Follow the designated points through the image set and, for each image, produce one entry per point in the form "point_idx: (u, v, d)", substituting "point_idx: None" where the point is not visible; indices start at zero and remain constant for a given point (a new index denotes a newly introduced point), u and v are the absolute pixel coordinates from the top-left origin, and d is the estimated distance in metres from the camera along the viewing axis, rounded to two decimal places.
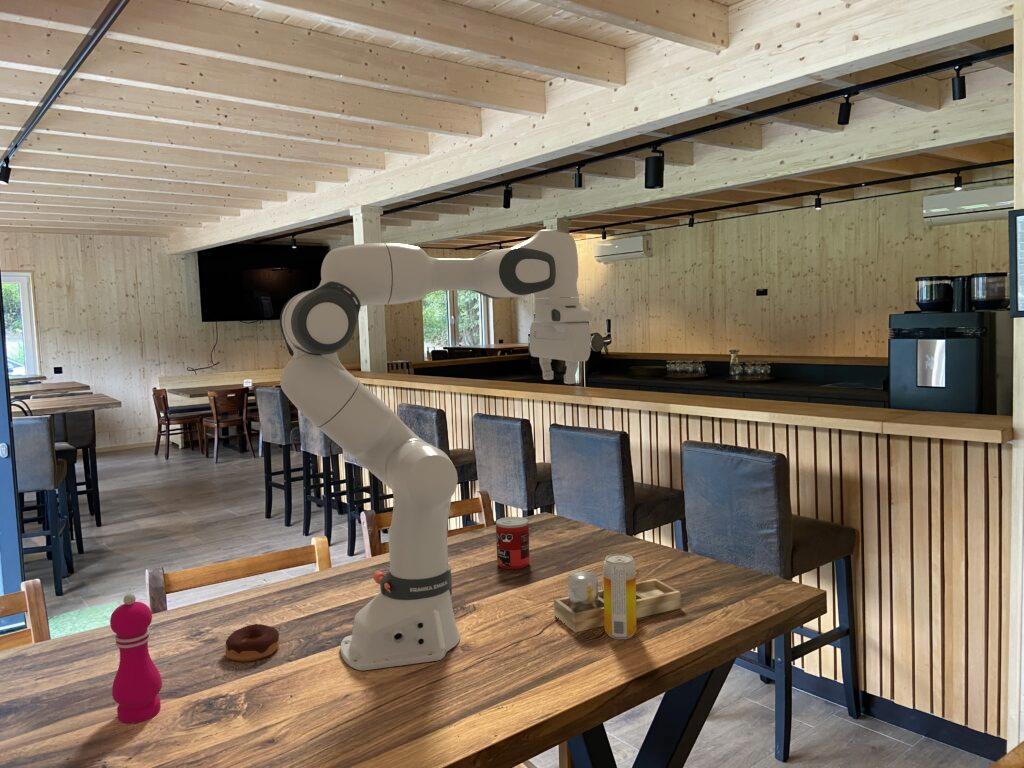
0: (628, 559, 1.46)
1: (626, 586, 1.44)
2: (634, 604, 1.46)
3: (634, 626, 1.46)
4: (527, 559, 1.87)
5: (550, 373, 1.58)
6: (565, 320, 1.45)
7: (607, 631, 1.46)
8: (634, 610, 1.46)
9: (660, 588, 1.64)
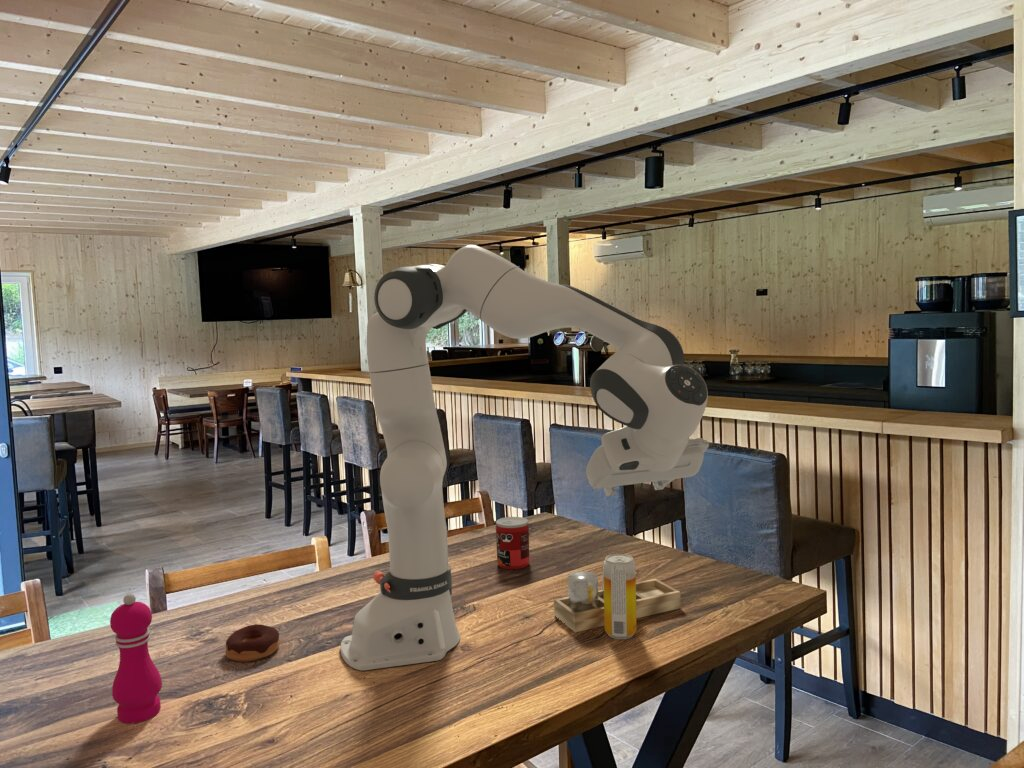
0: (628, 559, 1.46)
1: (626, 586, 1.44)
2: (634, 604, 1.46)
3: (634, 626, 1.46)
4: (527, 559, 1.87)
5: (656, 484, 1.37)
6: None
7: (607, 631, 1.46)
8: (634, 610, 1.46)
9: (660, 588, 1.64)
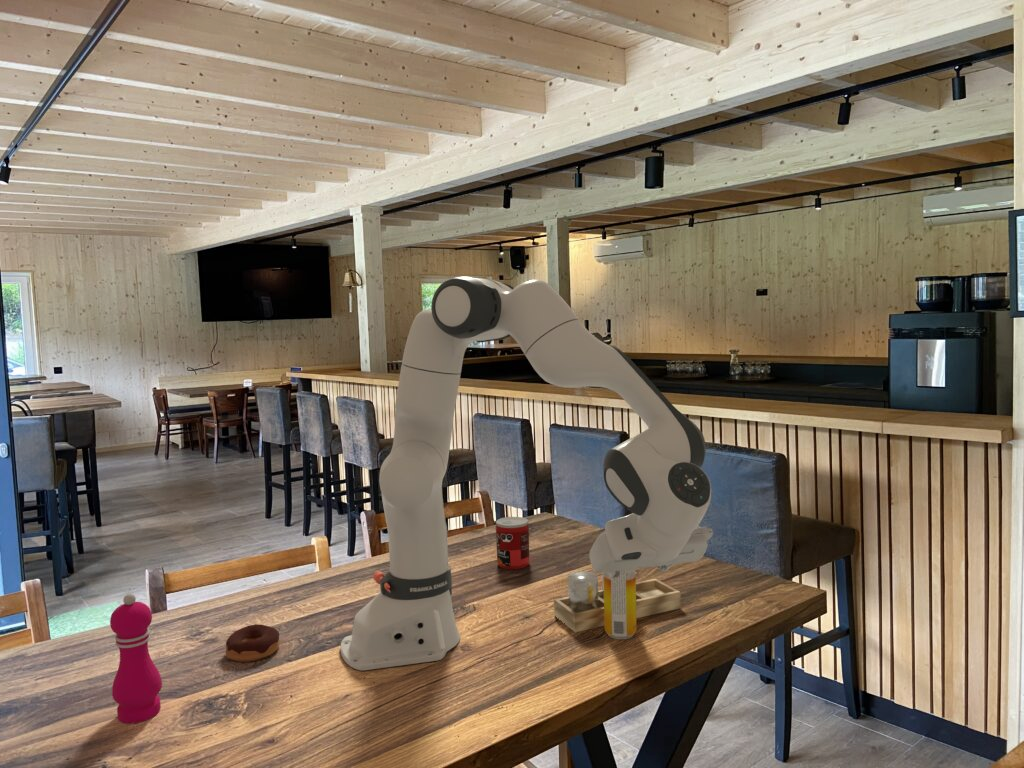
0: None
1: (626, 586, 1.44)
2: (634, 604, 1.46)
3: (634, 626, 1.46)
4: (527, 559, 1.87)
5: (660, 566, 1.38)
6: (605, 528, 1.28)
7: (607, 631, 1.46)
8: (634, 610, 1.46)
9: (660, 588, 1.64)
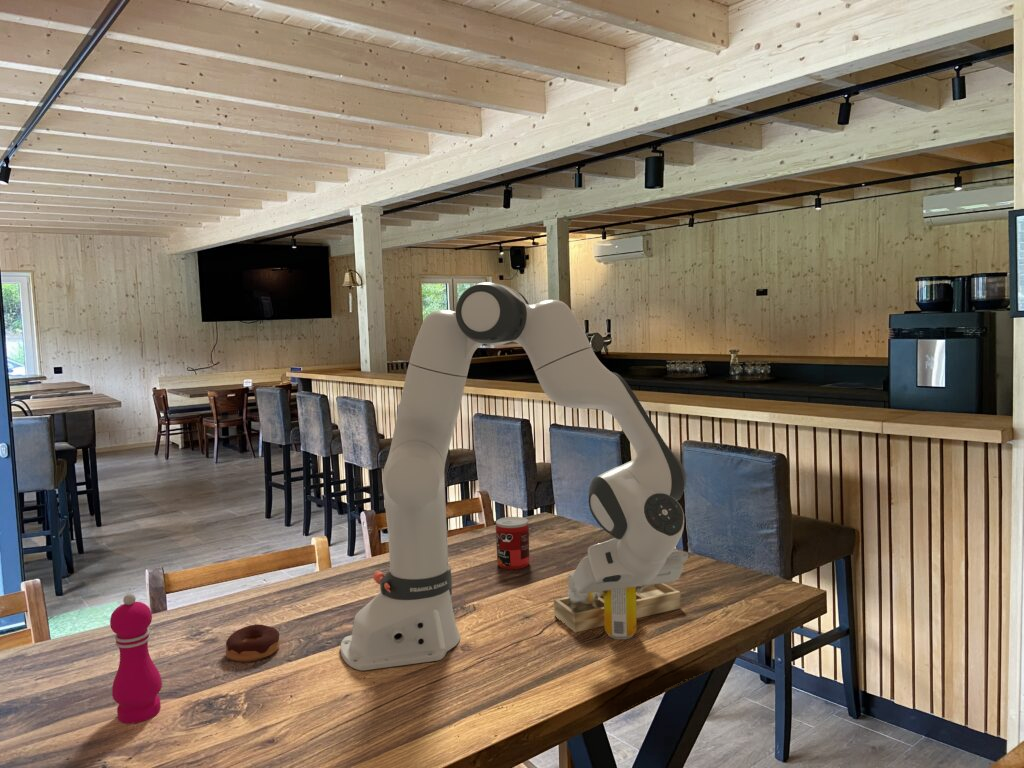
0: None
1: None
2: (634, 604, 1.46)
3: (634, 626, 1.46)
4: (527, 559, 1.87)
5: (635, 586, 1.47)
6: None
7: (607, 631, 1.46)
8: (634, 610, 1.46)
9: (660, 588, 1.64)
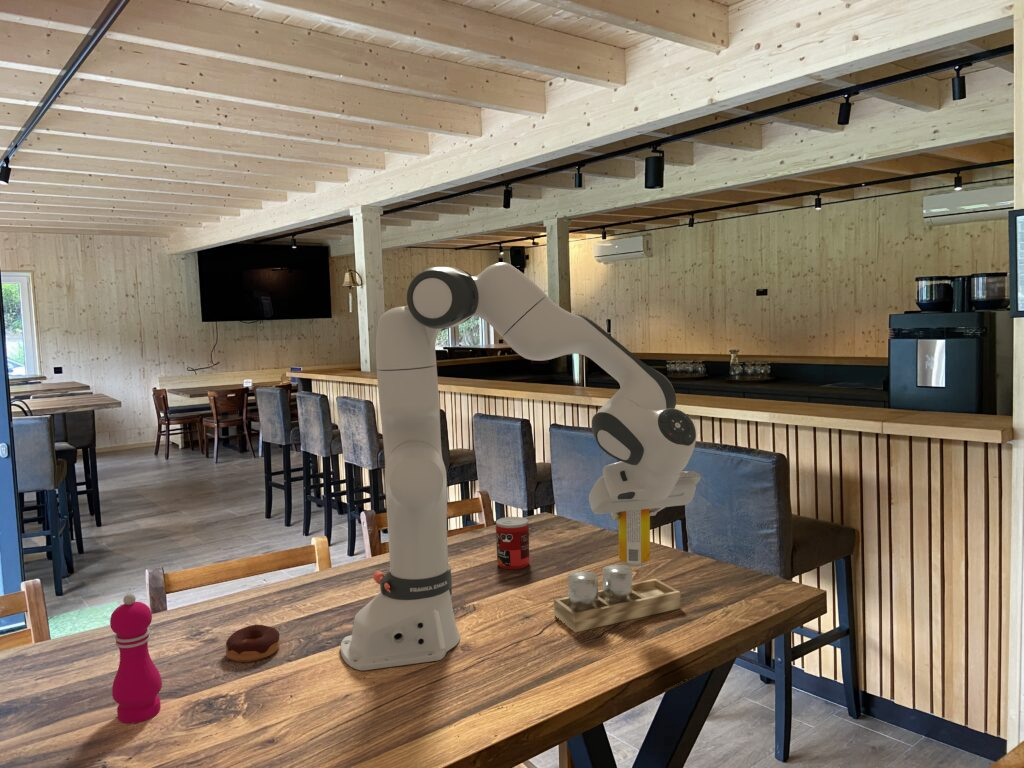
0: None
1: (641, 515, 1.48)
2: (648, 533, 1.50)
3: (648, 554, 1.50)
4: (527, 559, 1.87)
5: None
6: None
7: (622, 559, 1.51)
8: (648, 538, 1.50)
9: (660, 588, 1.64)
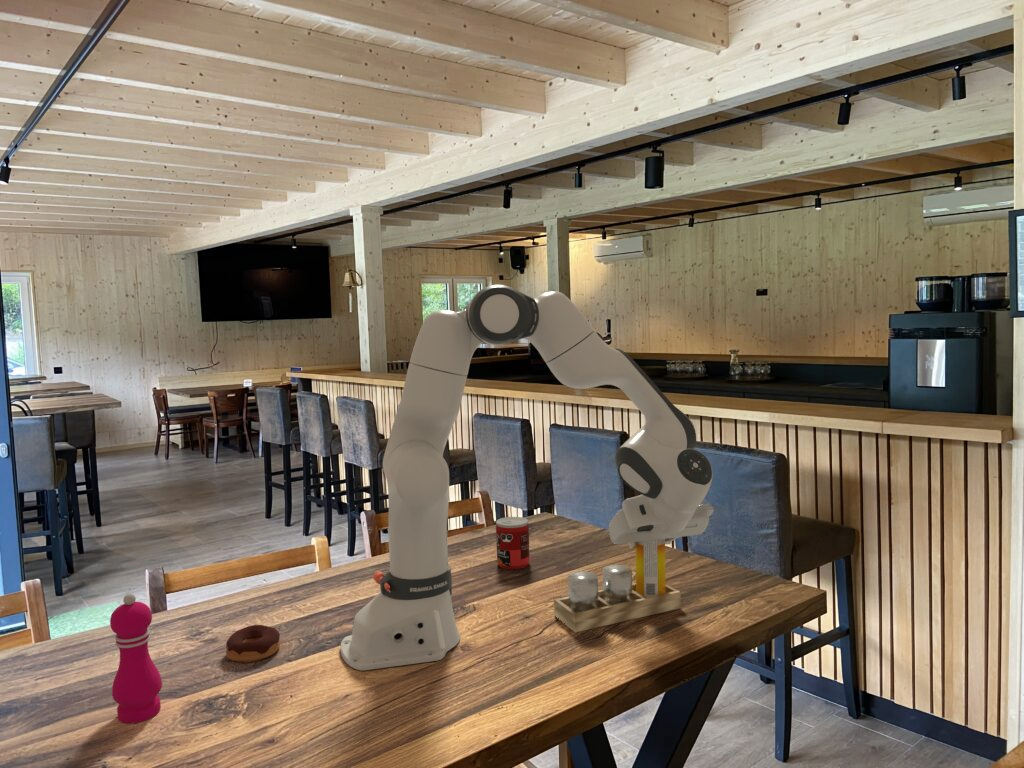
0: None
1: (657, 550, 1.57)
2: (664, 567, 1.59)
3: (664, 588, 1.59)
4: (527, 559, 1.87)
5: None
6: (622, 505, 1.51)
7: (639, 593, 1.60)
8: (664, 573, 1.59)
9: None
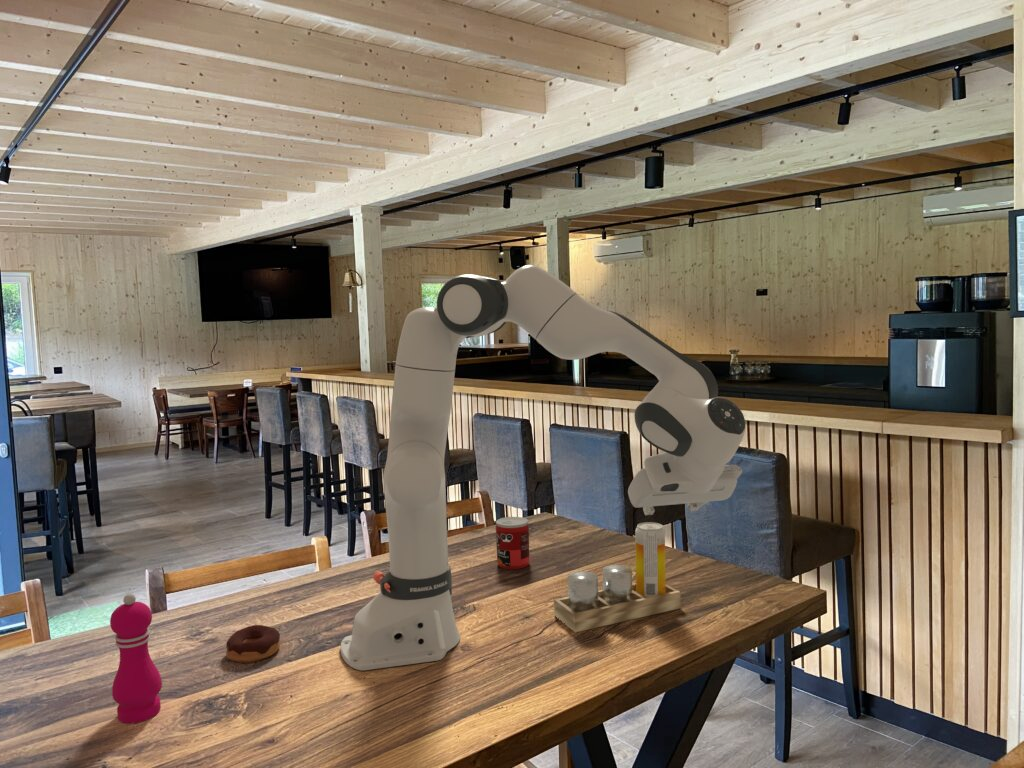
0: (658, 526, 1.60)
1: (657, 550, 1.57)
2: (664, 567, 1.59)
3: (664, 588, 1.59)
4: (527, 559, 1.87)
5: (691, 505, 1.48)
6: (644, 464, 1.39)
7: (639, 593, 1.60)
8: (664, 573, 1.59)
9: None
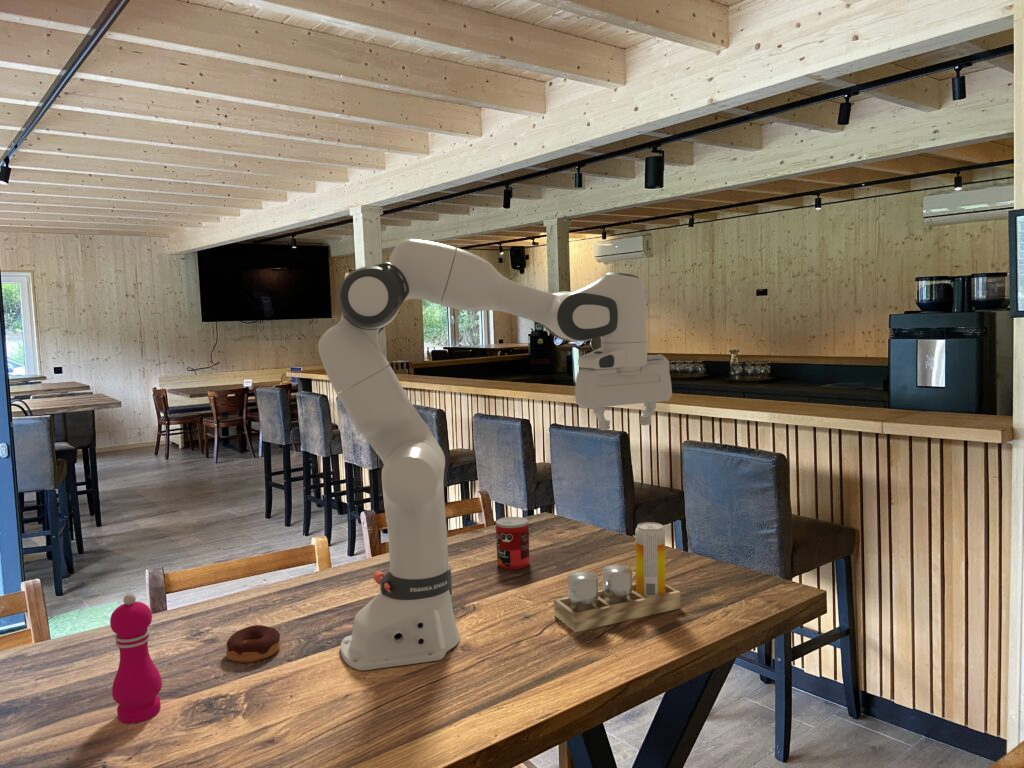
0: (658, 526, 1.60)
1: (657, 550, 1.57)
2: (664, 567, 1.59)
3: (664, 588, 1.59)
4: (527, 559, 1.87)
5: (643, 418, 1.52)
6: (579, 365, 1.48)
7: (639, 593, 1.60)
8: (664, 573, 1.59)
9: None
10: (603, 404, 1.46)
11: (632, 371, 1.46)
